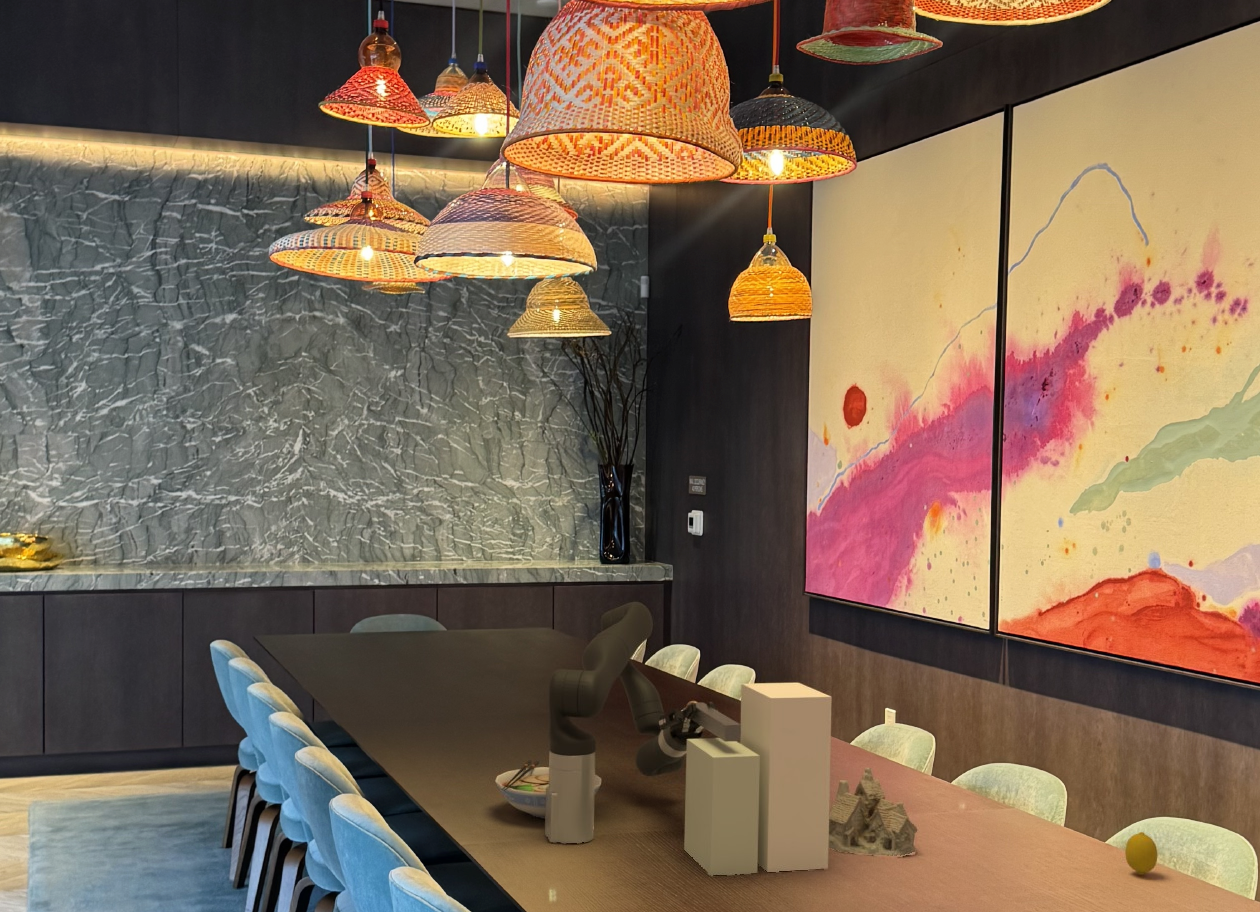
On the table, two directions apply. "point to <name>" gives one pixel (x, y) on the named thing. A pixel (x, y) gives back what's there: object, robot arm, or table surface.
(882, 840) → the ceramic cottage
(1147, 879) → the table surface
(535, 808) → the ramen bowl
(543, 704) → the table surface
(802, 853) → the white stand
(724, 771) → the beige rectangular block
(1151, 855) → the lemon
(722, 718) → the rod
